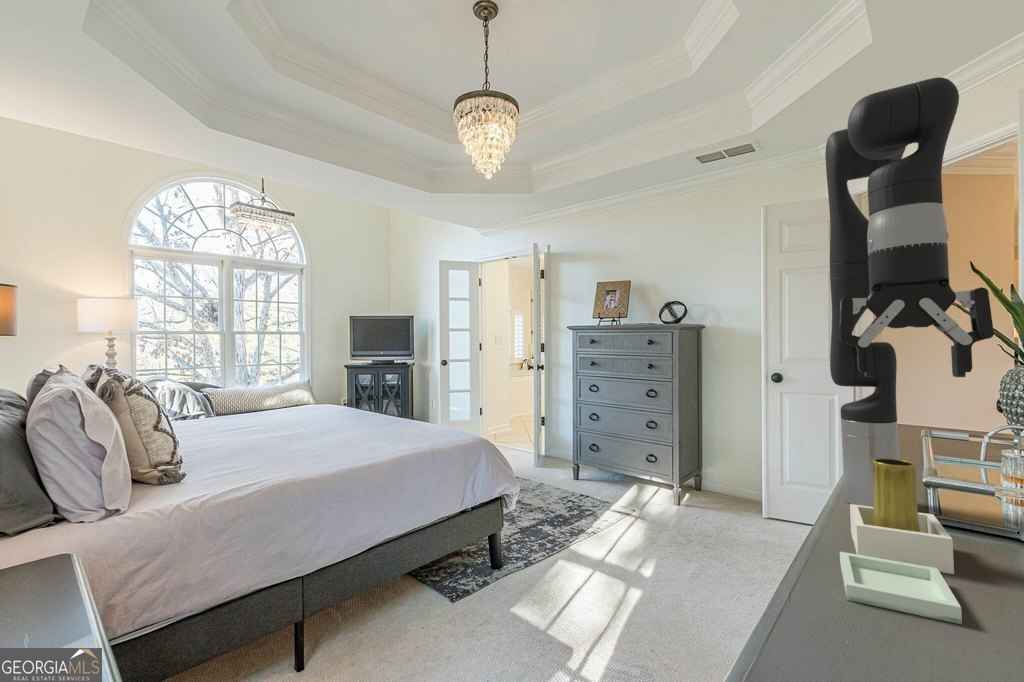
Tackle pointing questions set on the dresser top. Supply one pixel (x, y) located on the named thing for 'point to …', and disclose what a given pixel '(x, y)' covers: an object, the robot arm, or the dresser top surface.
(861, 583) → the tray
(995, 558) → the dresser top surface
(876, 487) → the vase
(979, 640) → the dresser top surface
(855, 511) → the sleeve
